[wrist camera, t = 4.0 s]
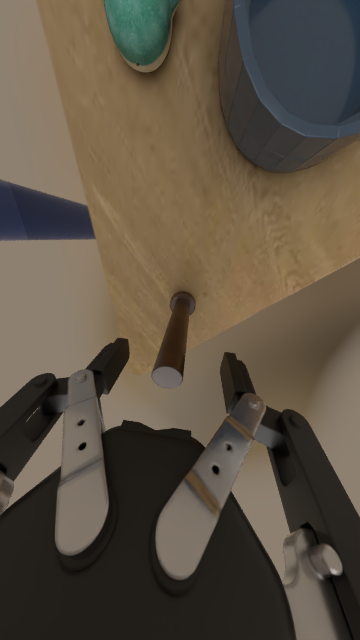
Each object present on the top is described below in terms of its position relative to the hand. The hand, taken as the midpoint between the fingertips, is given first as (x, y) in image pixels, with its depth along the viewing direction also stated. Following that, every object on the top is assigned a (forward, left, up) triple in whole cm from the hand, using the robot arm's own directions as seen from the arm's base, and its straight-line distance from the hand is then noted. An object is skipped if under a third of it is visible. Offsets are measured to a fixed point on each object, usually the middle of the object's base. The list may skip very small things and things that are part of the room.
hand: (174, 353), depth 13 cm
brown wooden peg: (0, 0, -12) cm, 12 cm away
